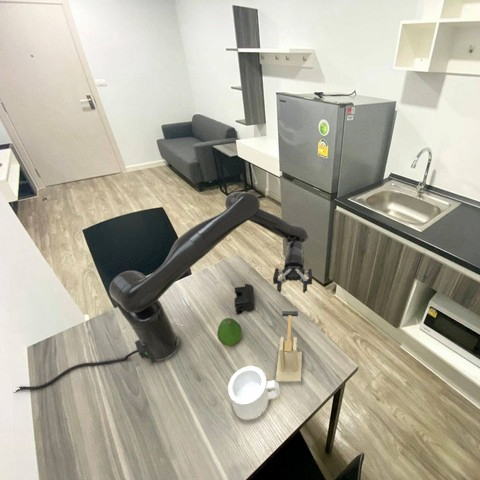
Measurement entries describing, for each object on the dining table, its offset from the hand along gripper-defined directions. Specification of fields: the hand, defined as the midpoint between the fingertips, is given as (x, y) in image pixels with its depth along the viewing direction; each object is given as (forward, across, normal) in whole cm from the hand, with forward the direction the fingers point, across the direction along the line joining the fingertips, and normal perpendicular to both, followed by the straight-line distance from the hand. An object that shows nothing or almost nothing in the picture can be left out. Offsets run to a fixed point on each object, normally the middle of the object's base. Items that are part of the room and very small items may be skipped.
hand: (291, 291), depth 92 cm
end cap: (-8, -20, +17) cm, 27 cm away
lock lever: (+14, 0, +4) cm, 14 cm away
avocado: (+9, -21, +17) cm, 29 cm away
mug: (+29, -9, +17) cm, 35 cm away
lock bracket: (+18, 0, +17) cm, 25 cm away
